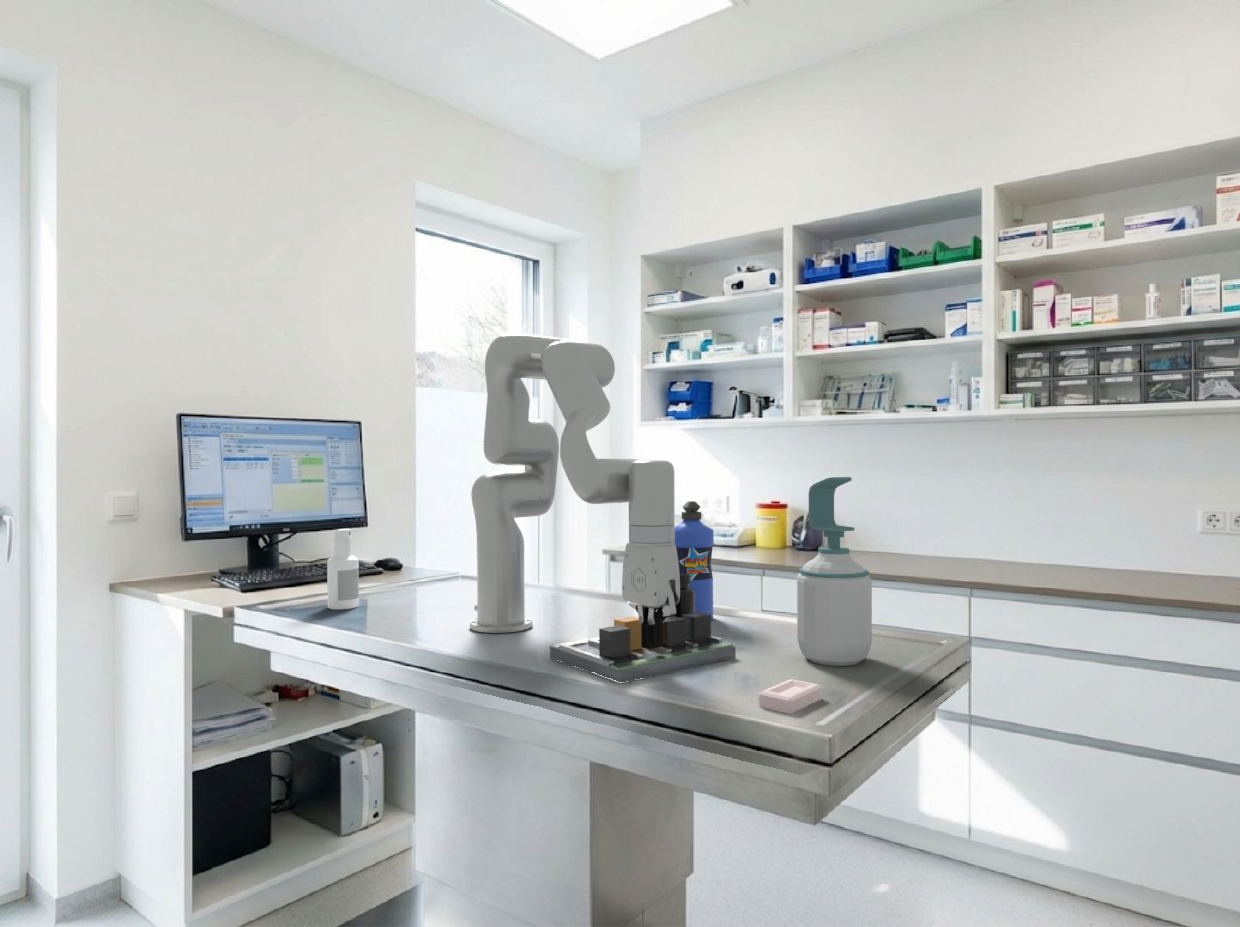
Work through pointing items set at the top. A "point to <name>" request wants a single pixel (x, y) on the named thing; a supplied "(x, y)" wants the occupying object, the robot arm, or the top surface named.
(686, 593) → the supplement bottle
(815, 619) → the soap bottle
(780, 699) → the soap bar
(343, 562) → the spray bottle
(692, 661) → the breaker panel
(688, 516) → the water bottle
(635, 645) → the handle
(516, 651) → the top surface
